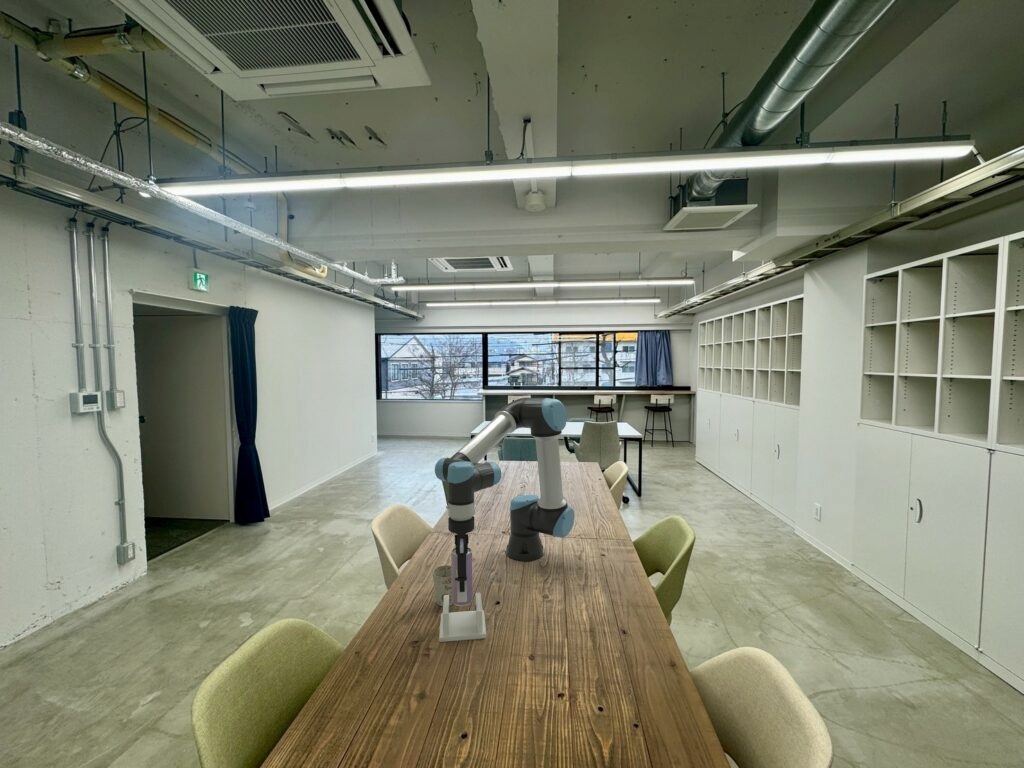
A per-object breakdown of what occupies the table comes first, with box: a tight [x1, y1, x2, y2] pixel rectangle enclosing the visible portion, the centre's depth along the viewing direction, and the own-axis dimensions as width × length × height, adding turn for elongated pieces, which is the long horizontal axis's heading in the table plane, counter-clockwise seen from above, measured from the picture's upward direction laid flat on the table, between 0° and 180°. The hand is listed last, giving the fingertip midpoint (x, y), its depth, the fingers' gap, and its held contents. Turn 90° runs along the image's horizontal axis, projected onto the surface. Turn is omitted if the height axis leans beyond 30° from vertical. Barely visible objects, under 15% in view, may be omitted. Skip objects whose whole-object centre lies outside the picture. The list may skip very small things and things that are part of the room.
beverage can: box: [450, 547, 473, 607], centre depth 123 cm, size 6×6×15 cm
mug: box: [432, 564, 454, 607], centre depth 139 cm, size 8×13×10 cm, turn 15°
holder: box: [438, 592, 487, 643], centre depth 123 cm, size 12×13×7 cm
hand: (462, 595), depth 123 cm, fingers closed on beverage can, 6 cm apart
